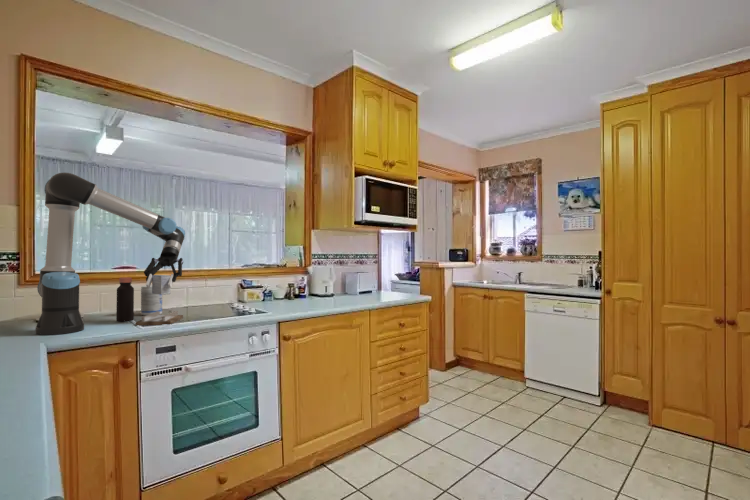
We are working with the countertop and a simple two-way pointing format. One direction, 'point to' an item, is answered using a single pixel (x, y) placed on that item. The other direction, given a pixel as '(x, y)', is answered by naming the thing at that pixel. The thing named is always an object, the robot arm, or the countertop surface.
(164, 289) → the medicine box
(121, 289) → the bottle
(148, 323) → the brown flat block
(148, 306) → the supplement tub
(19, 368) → the countertop surface
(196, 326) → the countertop surface
